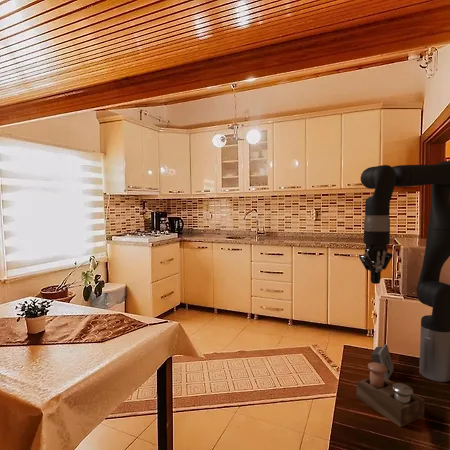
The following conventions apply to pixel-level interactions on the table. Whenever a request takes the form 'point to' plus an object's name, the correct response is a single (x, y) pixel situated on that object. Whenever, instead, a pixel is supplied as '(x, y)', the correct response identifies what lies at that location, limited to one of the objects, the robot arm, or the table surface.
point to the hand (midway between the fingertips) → (375, 283)
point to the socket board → (390, 402)
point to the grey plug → (402, 393)
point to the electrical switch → (383, 359)
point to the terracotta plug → (377, 374)
